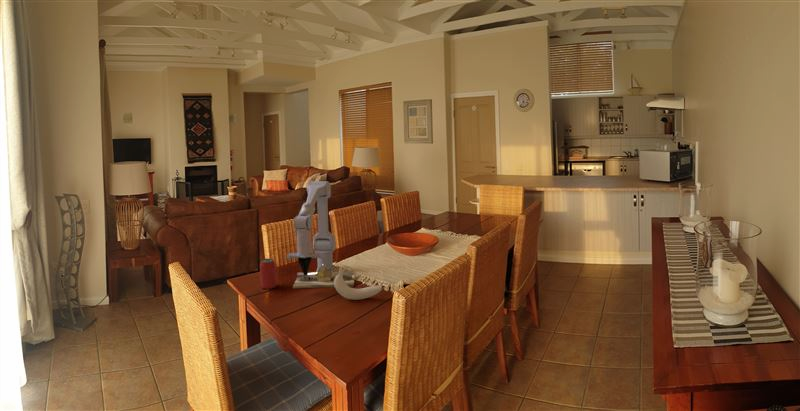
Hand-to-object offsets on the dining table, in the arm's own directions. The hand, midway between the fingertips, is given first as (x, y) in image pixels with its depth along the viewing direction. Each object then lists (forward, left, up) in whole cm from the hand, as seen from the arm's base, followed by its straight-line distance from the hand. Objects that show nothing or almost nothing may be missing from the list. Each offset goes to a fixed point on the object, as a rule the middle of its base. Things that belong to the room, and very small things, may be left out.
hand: (305, 274), depth 204 cm
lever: (-3, +7, 0) cm, 8 cm away
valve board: (-8, +7, -7) cm, 13 cm away
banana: (+14, +23, -7) cm, 28 cm away
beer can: (-4, -17, -7) cm, 19 cm away
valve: (-9, +7, -5) cm, 12 cm away
